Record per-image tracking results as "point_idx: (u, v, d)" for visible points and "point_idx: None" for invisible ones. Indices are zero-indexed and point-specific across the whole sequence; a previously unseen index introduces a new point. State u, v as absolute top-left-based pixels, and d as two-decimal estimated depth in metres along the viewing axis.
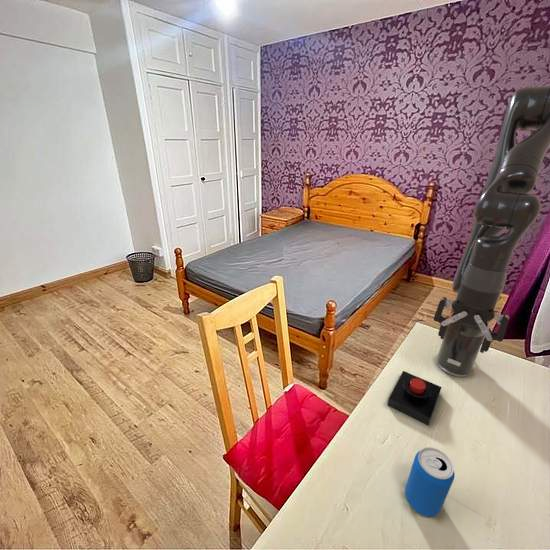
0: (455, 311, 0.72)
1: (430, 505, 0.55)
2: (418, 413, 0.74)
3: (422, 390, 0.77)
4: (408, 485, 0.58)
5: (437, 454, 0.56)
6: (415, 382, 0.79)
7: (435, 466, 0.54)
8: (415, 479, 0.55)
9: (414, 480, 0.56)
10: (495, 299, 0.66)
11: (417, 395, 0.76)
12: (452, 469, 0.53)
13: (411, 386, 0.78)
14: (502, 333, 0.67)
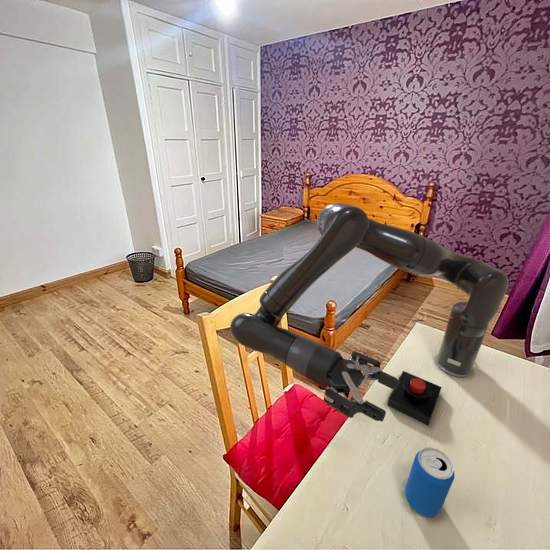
0: None
1: (430, 505, 0.55)
2: (418, 413, 0.74)
3: (422, 390, 0.77)
4: (408, 485, 0.58)
5: (437, 454, 0.56)
6: (415, 382, 0.79)
7: (435, 466, 0.54)
8: (415, 479, 0.55)
9: (414, 480, 0.56)
10: (313, 380, 0.60)
11: (417, 395, 0.76)
12: (452, 469, 0.53)
13: (411, 386, 0.78)
14: None
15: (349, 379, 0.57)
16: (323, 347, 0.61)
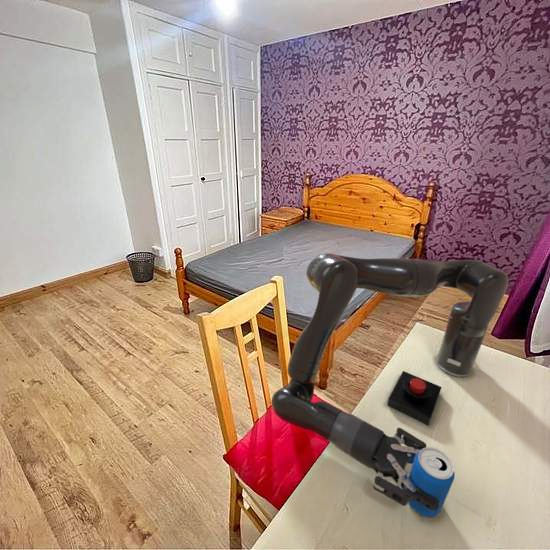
0: None
1: None
2: (418, 413, 0.74)
3: (422, 390, 0.77)
4: None
5: (437, 454, 0.56)
6: (415, 382, 0.79)
7: (435, 466, 0.54)
8: (415, 479, 0.55)
9: (414, 480, 0.56)
10: (358, 460, 0.62)
11: (417, 395, 0.76)
12: (452, 469, 0.53)
13: (411, 386, 0.78)
14: None
15: (395, 463, 0.58)
16: (366, 426, 0.63)
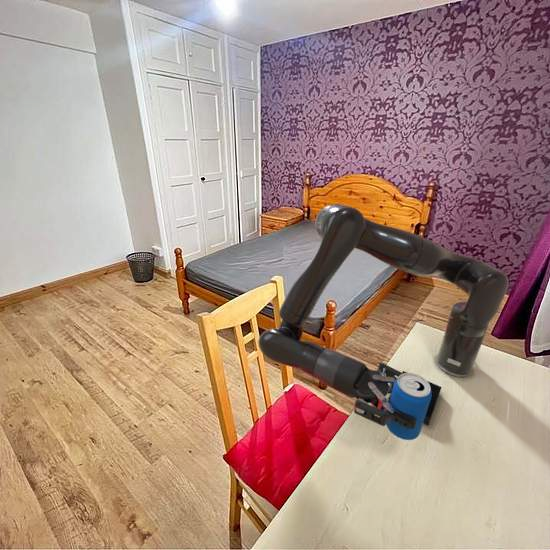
0: None
1: None
2: None
3: None
4: None
5: (416, 378, 0.57)
6: None
7: (413, 387, 0.55)
8: (394, 401, 0.57)
9: (393, 403, 0.57)
10: (340, 391, 0.63)
11: None
12: (429, 389, 0.55)
13: None
14: None
15: (375, 390, 0.59)
16: (349, 359, 0.64)
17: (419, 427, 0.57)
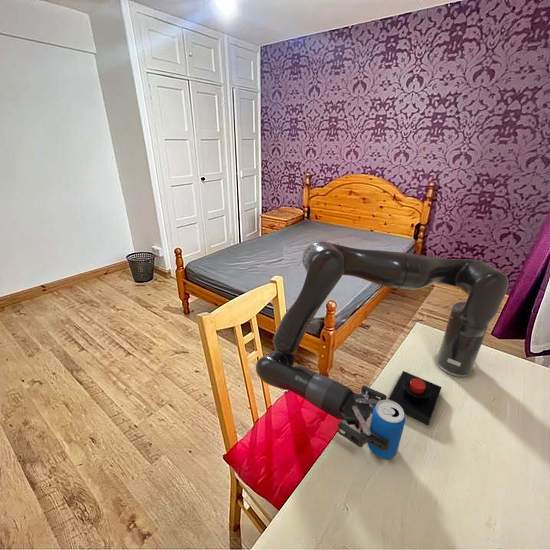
0: None
1: None
2: (418, 413, 0.74)
3: (422, 390, 0.77)
4: None
5: (392, 405, 0.65)
6: (415, 382, 0.79)
7: (389, 414, 0.63)
8: (373, 425, 0.65)
9: (372, 426, 0.65)
10: (328, 413, 0.71)
11: (417, 395, 0.76)
12: (403, 415, 0.63)
13: (411, 386, 0.78)
14: None
15: (358, 413, 0.67)
16: (336, 384, 0.72)
17: (395, 448, 0.65)
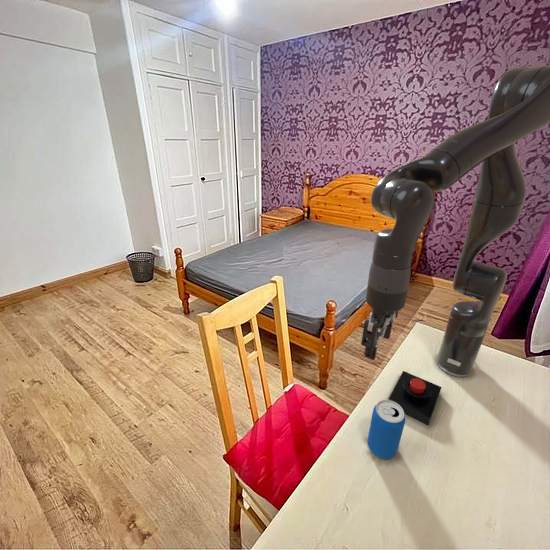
0: None
1: (385, 447, 0.64)
2: (418, 413, 0.74)
3: (422, 390, 0.77)
4: (369, 433, 0.68)
5: (392, 405, 0.65)
6: (415, 382, 0.79)
7: (389, 414, 0.63)
8: (373, 425, 0.65)
9: (372, 426, 0.65)
10: (371, 296, 0.60)
11: (417, 395, 0.76)
12: (403, 415, 0.63)
13: (411, 386, 0.78)
14: None
15: (387, 325, 0.62)
16: None
17: (395, 448, 0.65)
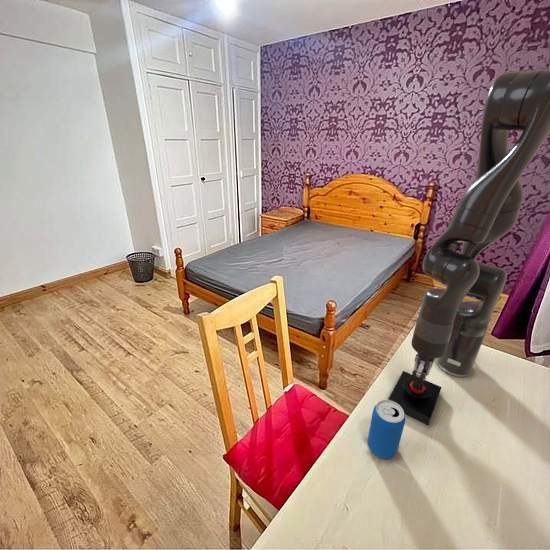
0: None
1: (385, 447, 0.64)
2: (418, 413, 0.74)
3: (421, 393, 0.77)
4: (369, 433, 0.68)
5: (392, 405, 0.65)
6: None
7: (389, 414, 0.63)
8: (373, 425, 0.65)
9: (372, 426, 0.65)
10: (419, 344, 0.70)
11: (417, 395, 0.76)
12: (403, 415, 0.63)
13: (410, 389, 0.79)
14: (413, 376, 0.74)
15: (430, 368, 0.72)
16: None
17: (395, 448, 0.65)
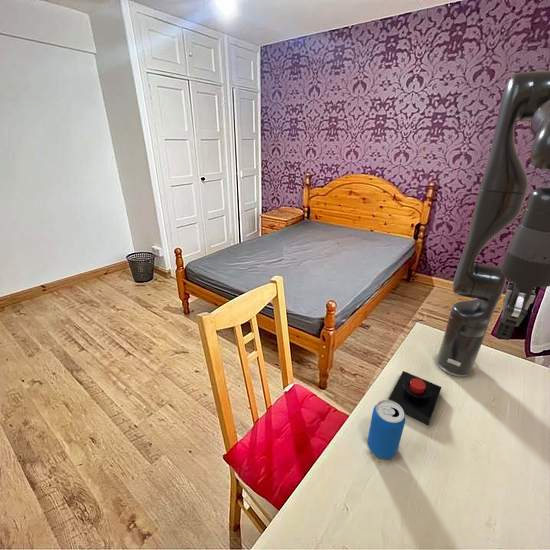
0: None
1: (385, 447, 0.64)
2: (418, 413, 0.74)
3: (422, 390, 0.77)
4: (369, 433, 0.68)
5: (392, 405, 0.65)
6: (415, 382, 0.79)
7: (389, 414, 0.63)
8: (373, 425, 0.65)
9: (372, 426, 0.65)
10: (518, 268, 0.50)
11: (417, 395, 0.76)
12: (403, 415, 0.63)
13: (411, 386, 0.78)
14: (503, 316, 0.54)
15: None
16: None
17: (395, 448, 0.65)
